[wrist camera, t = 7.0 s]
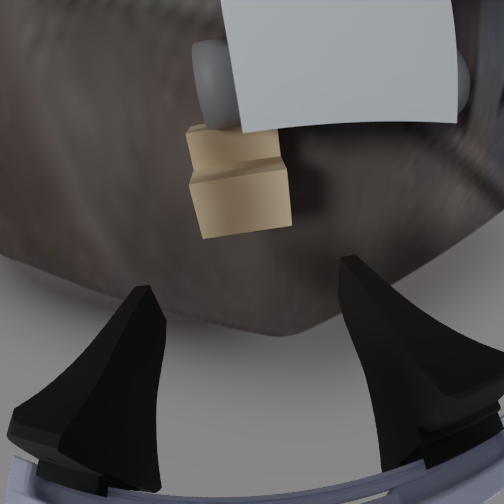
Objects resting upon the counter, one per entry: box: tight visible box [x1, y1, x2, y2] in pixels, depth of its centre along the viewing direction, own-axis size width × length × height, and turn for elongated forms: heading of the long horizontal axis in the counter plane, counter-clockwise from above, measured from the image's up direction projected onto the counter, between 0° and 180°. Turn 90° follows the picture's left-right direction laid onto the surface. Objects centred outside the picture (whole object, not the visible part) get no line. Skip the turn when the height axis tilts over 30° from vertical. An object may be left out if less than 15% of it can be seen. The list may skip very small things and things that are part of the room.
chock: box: [186, 124, 292, 239], centre depth 15 cm, size 4×5×4 cm
